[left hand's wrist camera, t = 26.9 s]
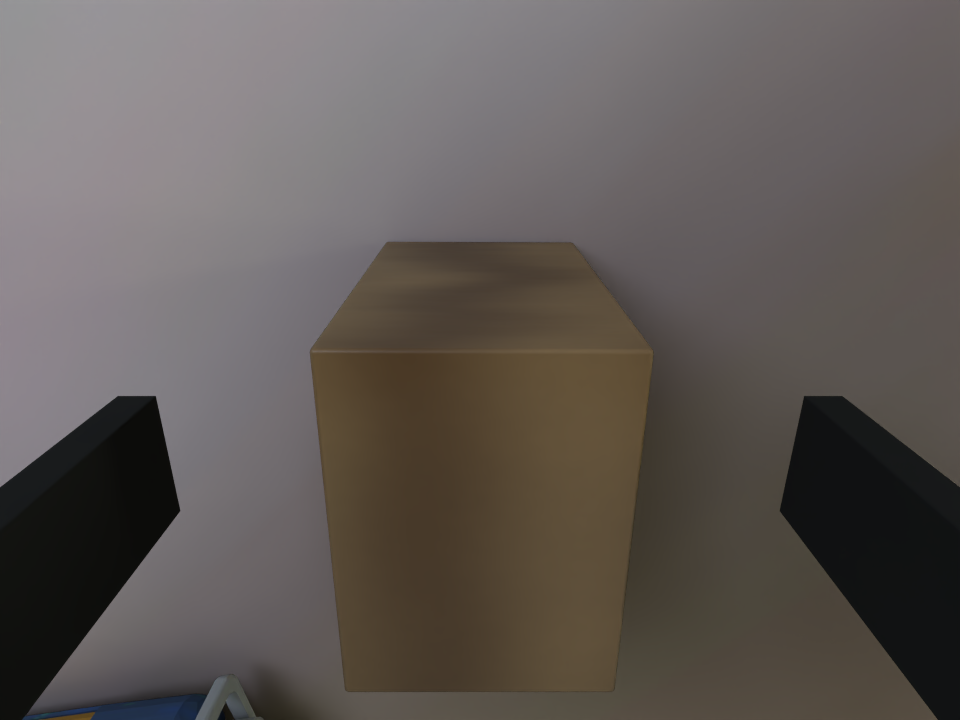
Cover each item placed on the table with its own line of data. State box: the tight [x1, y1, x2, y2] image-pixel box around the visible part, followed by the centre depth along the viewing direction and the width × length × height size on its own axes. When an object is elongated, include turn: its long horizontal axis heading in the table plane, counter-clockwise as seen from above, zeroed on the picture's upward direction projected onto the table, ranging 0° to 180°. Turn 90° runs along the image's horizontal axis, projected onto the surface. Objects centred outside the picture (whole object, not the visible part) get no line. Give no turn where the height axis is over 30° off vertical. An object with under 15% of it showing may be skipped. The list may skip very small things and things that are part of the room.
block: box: [310, 242, 654, 692], centre depth 14 cm, size 5×7×8 cm
